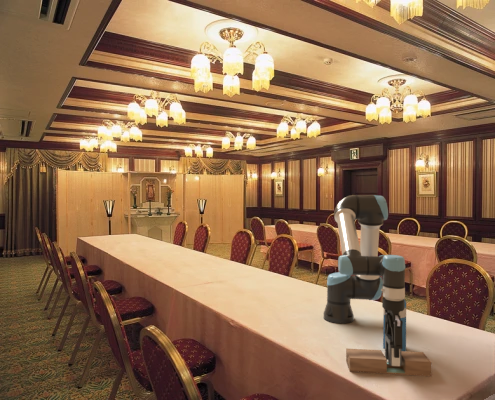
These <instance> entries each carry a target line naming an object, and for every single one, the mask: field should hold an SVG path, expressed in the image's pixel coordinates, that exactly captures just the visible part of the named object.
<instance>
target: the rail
mask: <svg viewBox="0 0 495 400" xmlns="http://www.w3.org/2000/svg"><path fill="white" fill-rule="evenodd" d="M345 350H346V351H345V357H346V358H345V362H346V365H347V368H348V370H349V372H350V373H364V374H365V373H367V374H382V375H383V374H385V375H401V376H402V375H403V376H421V377H432V375H433V374H432V372H433V371H432V366H433V365H432V363H433V362H432V361H431V359H429V357H428V356H427V355H426V354H425V353H424V352H423V351H407V350H406V351H401V366H390V365H389V364H388V360H387V359H386V358H385V353H383V350H380V349H364V348H363V349H362V348H345Z"/></svg>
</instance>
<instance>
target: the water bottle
mask: <svg viewBox="0 0 495 400" xmlns="http://www.w3.org/2000/svg"><path fill="white" fill-rule="evenodd" d="M405 299H406V298H404V301H405V309H404V310H403V311H400V312H399V315H400V318H401V320H402V321H403V324H402V347H403V348H402V349H401V351H407V301H406V300H405ZM382 319H383V327H382V328H383V329H382V331H383V335H382V336H383V337H382V339H383V342H382V344H383V345H382V347H383V349H384V350H385V334H384V332H385V309H384V308H383V318H382Z"/></svg>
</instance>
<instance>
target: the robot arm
mask: <svg viewBox="0 0 495 400" xmlns="http://www.w3.org/2000/svg"><path fill="white" fill-rule="evenodd" d="M388 209H389V208H388V203H387V200H386V198H385V197H384V196H383V195H375V194H369V195H367V194H365V195H363V194H362V195H361V194H360V195H357V194H356V195H355V194H352V195H351V194H350V195H347V196H346V197H343V198H342V199H340V200H339V202H338V203H337V204H336V206H335V208H334V212H333V217H334V221H335V222H336V223H337V227H338V228H337V229H338V235H339V241H340V250H341V255H340V256H338V259H337V260H338V261H337V262H338V263H337V265H338V268H337V269H338V272H333V273H329V274H328V276H327V277H326V278H327V281H326V286H327V287H326V288H327V289H326V290H327V291H326V292H327V293H326V296H327V297H326V304H325V308H324V310H323V319H324V320H326V321H327V322H331V323H333V324H334V323H335V324H349V323H353V322H354V320H355V315H354V312H353V308H352V306H351V300H366V301H374V300H375V301H377V300H379V299H380V298H381V297H382V299H381V300H382V303H381V304H382V308H383V310H384V309H385V332H384V334H392V344H393V346H391V348H392V363H391V365H392V366H400V349H402V348H403V347H402V324H403V321H402V320H401V318H400V315H399V312H400V311H403V310H404V309H405V301H406V300H405V301H404V299H406V298H405V297H406V287H405V283H406V281H405V280H406V279H405V278H406V259H405V257H404V256H402V255H398V254H382V255H379V256H378V253H379V241H380V239H379V238H380V229H381V226H383V225H384V221H386V220H388V217H389V210H388ZM355 220H357V222H358V224H359V225H360V236H358V232H357V228H356V222H355ZM359 237H360V239H359Z"/></svg>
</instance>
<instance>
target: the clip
mask: <svg viewBox="0 0 495 400" xmlns="http://www.w3.org/2000/svg"><path fill="white" fill-rule="evenodd" d="M391 346H393V344H392V334H385V349H384V356H385V358H386V359H387V362H388V364H389V365H390V366H392V365H391V363H392V348H391ZM400 366H401V349H400Z"/></svg>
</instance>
